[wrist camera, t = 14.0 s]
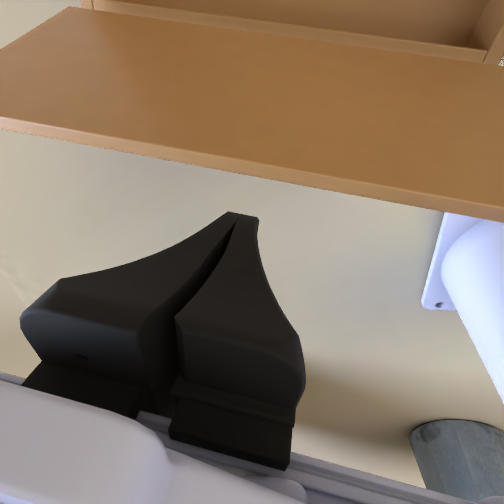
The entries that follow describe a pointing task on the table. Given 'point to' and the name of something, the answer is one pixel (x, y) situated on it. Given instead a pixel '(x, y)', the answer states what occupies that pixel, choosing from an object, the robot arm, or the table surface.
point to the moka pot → (460, 458)
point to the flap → (265, 107)
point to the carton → (347, 22)
